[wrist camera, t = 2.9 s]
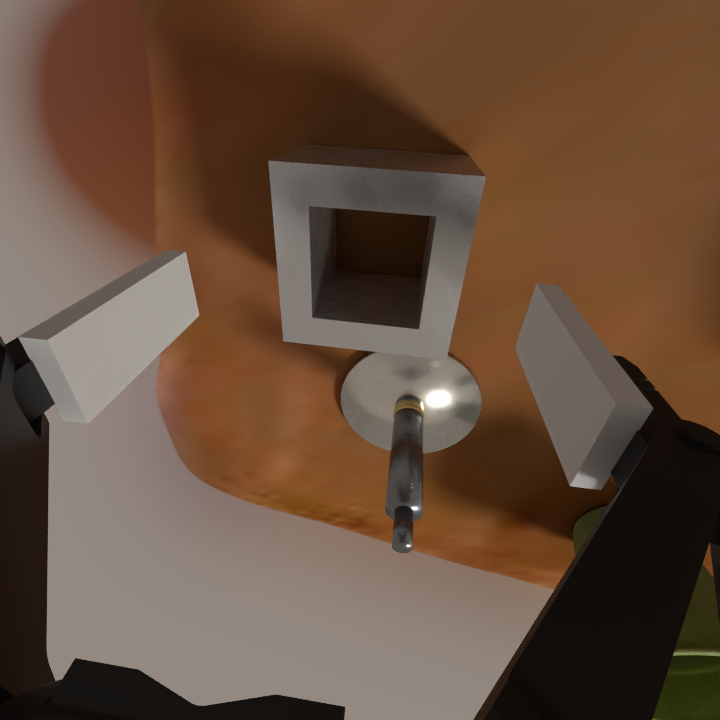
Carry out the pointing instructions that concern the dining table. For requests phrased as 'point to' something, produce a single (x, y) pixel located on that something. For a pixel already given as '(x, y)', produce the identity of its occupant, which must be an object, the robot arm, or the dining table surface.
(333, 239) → the collar
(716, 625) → the plant pot
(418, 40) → the dining table surface
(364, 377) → the post
